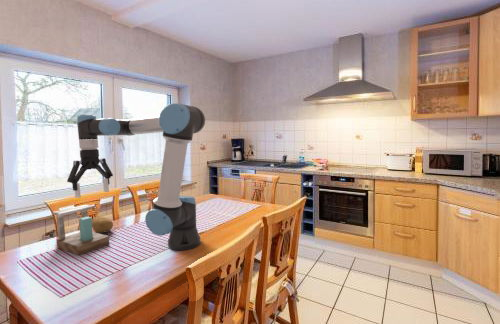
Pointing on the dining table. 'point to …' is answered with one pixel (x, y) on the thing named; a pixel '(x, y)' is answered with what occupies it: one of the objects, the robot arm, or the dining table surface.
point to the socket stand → (77, 234)
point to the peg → (85, 228)
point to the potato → (101, 224)
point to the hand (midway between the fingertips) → (92, 194)
